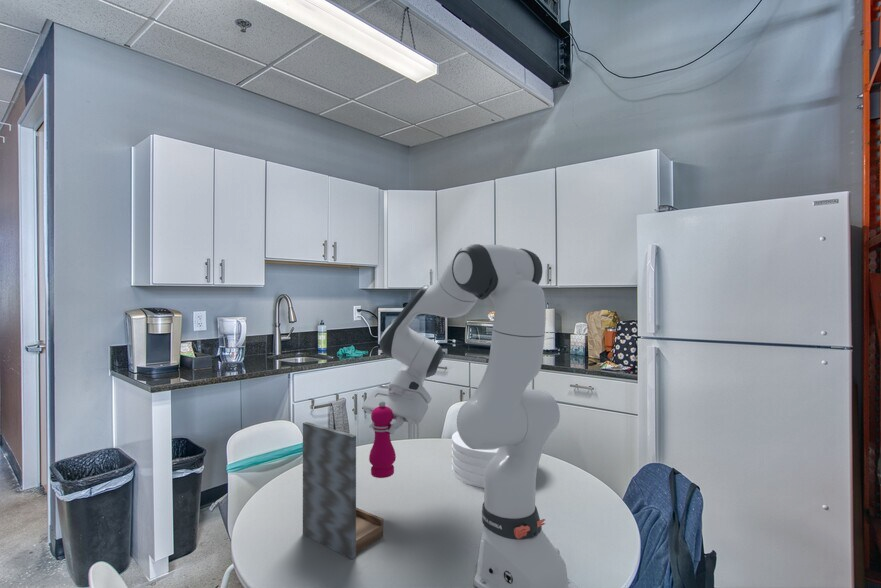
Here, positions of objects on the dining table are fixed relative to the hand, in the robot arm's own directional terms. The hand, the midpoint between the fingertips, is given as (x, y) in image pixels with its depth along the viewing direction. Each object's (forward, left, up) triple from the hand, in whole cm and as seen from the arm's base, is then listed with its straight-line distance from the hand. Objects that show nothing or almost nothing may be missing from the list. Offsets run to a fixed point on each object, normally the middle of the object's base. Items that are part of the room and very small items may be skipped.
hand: (380, 430), depth 122 cm
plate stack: (+6, -45, -24) cm, 52 cm away
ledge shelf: (-4, +12, -23) cm, 26 cm away
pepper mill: (0, -1, -12) cm, 12 cm away
